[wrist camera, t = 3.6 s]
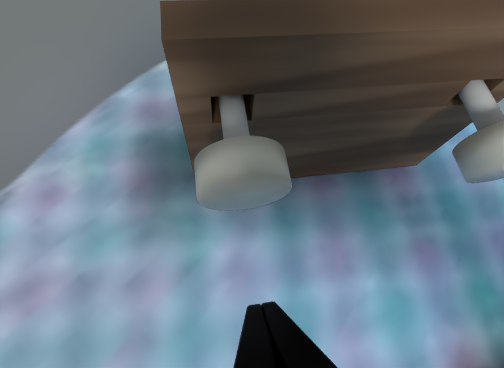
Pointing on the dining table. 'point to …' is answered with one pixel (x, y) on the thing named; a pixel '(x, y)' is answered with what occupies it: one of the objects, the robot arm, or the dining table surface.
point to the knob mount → (333, 74)
